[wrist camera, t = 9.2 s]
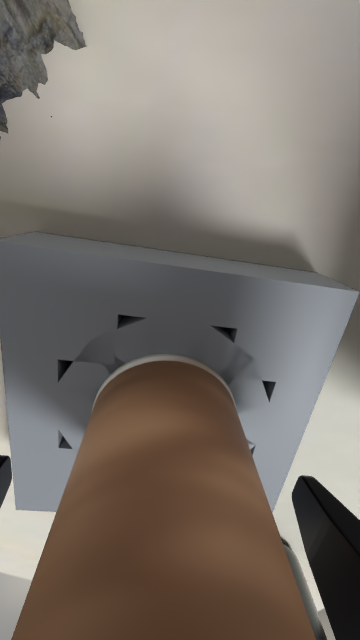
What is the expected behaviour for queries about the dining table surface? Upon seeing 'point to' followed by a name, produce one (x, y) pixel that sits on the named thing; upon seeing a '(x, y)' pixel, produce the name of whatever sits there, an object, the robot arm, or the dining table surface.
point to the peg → (164, 522)
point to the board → (155, 344)
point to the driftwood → (31, 43)
